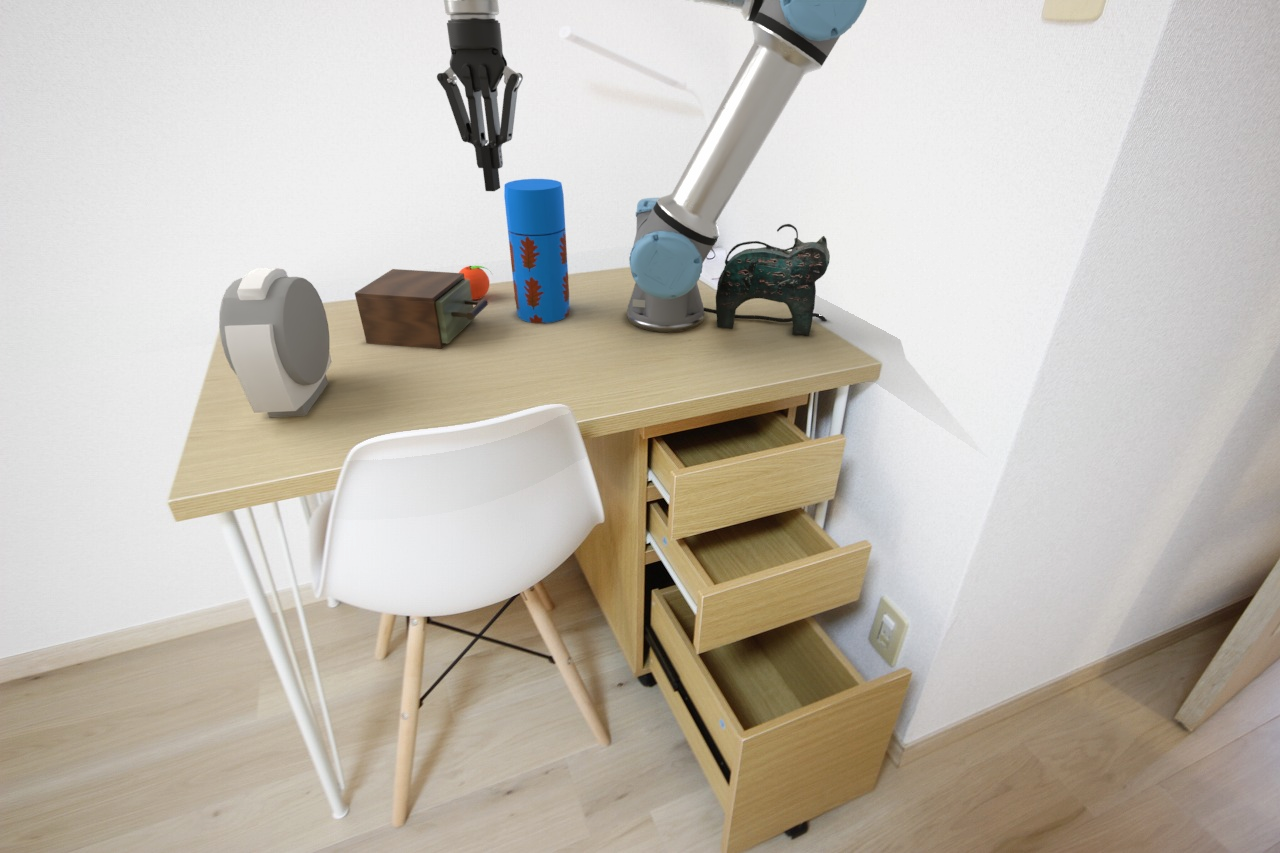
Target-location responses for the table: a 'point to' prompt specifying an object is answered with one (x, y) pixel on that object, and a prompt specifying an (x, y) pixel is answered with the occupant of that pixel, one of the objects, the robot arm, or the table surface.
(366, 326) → the cabinet
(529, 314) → the thermos
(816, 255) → the ceramic cat
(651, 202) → the robot arm
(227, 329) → the alarm clock
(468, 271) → the clementine
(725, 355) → the table surface
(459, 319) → the drawer
